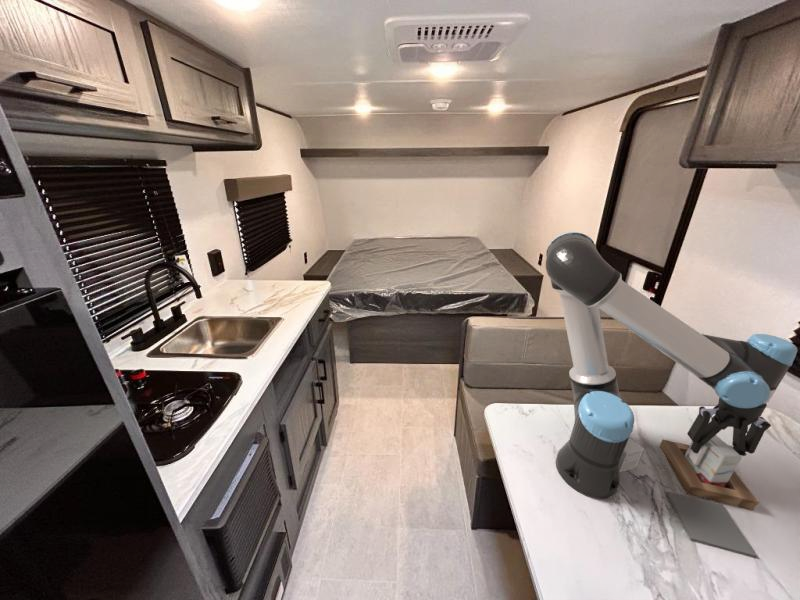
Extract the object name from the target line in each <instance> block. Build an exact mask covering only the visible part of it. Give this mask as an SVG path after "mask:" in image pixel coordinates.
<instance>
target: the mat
mask: <svg viewBox="0 0 800 600" xmlns="http://www.w3.org/2000/svg"><path fill="white" fill-rule="evenodd" d="M665 493H666V495H667V498H668V499H669V501H670V503H671V505H672V507H673V509H674V511H675V513H676V514H677V517H678V519H679V521H680V523H681V525H682V526H683V528H684V531H685V532H686V534H687V537H688V539H689V540H690V541H692V542H696V543H699V544H700V543H701V544H703V545H704V544H705V545H708V546H711V547H714V548H719V549H722V550H725V551H729V552H733V553H737V554H741V555H744V556H748V557H752V558H757V557H758V556H757V554H756V553H755V551H754V550H753V547H752V546H751V544H750V543H749V542H748V540H747V539H746V537H745V536H744V534H743V533H742V532H741V529H740V528H739V527H738V525H737V524H736V522H735V520H734V519H733V518H732V516H731V515H730V513H729V511H728V510H727V509H726V507H725V505H724V503H720V502H716V501H712V500H707V499H703V498H699V497H695V496H691V495H687V494H686V495H685V494H681V493H676V492H673V491H670V490H666V491H665Z"/></svg>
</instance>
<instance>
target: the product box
mask: <svg viewBox="0 0 800 600" xmlns="http://www.w3.org/2000/svg"><path fill="white" fill-rule="evenodd" d="M643 451H644V448H643V447H641V446H640V445H639V444H638V443H637V442H636V441H635V440H633V439H632V438H631V437H629V439H628V441H627V444H626V446H625V449H624V451H623V454H622V456H621V458H620V461H619V463H618V466H619V473H622V472H625V471H630V470H634V469H636V468H637V466H638V463H639V460H640V458H641V456H642V453H643Z"/></svg>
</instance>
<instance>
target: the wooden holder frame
mask: <svg viewBox="0 0 800 600" xmlns="http://www.w3.org/2000/svg"><path fill="white" fill-rule="evenodd" d="M659 444H660V445H659V449H660V451H661V453H662V454H663V456H664V457H665V460H666V461H667V463H668V464H669V467H670V468H671V469H672V471H673V474H674V475H675V477H676V479H677V480H678V482H679V483H680V486H681V487H682V489H683V491H684V493H685V494H686V496H690V497H694V498H698V499H702V500H706V501H711V502H715V503H719V504H723V505H724V504H725V505H729V506H733V507H737V508H740V509H741V508H742V509H745V510H750V511H754V510H755V509H756V508H757V506H758V505H759V503H760V502H759V500H758V499H757V498H756V497H755V495H754V494H753V492H751V490H750V489H749V488H748V486H747V485H746V484H745V482H744V481H743V480H742V479H741V477H740V476H739V475H738V473H737V472H736V471H735V470H734V472H733V474H732V476H731V477H730V479H729V481H728V483H727V484H726V486H725V488H724V487H720V486H715V485H711V484H707V483H702V482H701V481H700V480H699V478H698V476H697V475H696V473H695V472H694V470H693V469H692V467H691V466H690V464H689V463H688V461H687V459H686V458H685V454H686V452H687V450H688V448H689V446H690V444H686V443H680V442H676V441H672V440H668V439H662V440H661V442H660V443H659Z"/></svg>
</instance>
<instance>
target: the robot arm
mask: <svg viewBox="0 0 800 600" xmlns="http://www.w3.org/2000/svg"><path fill="white" fill-rule="evenodd" d="M545 257H546V258H545V270H546V274H547V275H548V278H549V279H550V284H551V288H552V290H554V291H555V292H557V293H559V298H560V303H561V307H562V314H563V318H564V324H565V330H566V332H567V333H566V335H567V339H568V340H567V341H568V344H569V349H570V355H571V360H572V365H573V367H571V368H570V370H569V371H568V372H569V373H568V374H569V380H570V386H571V390H572V396H573V407H574V408H573V410H574V422H573V426H572V430H571V433H570V436H569V440H568V441H567V442H565V444H564V445H562V447H561V448H560V449H559V450H558V452H557V454H556V458H555V467H556V470H557V471H558V472H557V473H558V474H559V476H560V477H561V478H562V479H563V481H564V482H565V483H566V484H568V485H569V486H570V487H571V488H572V489H574V490H575V491H576V492H579V493H581V494H583V495H585V496H587V497H591V498H593V499H599V500H600V499H601V500H602V499H609V498H611V497H614V496H615V495H616V494H617V492H618V489H619V487H620V483H621V482H620V481H621V476H620V472H619V466H618V463H619V461H620V458H621V456H622V454H623V451H624V449H625V446H626V444H627V441H628V439H629V438H630V436H631V435H632V433H633V430H634V427H635V425H634V424H635V415H634V412H633V410H632V408H631V407H630V405H629V404H628V403H626V402H623V401H624V400H623V399H622V398H621V395H620V391H619V390H620V389H619V383H618V377H617V372H616V370H615V368H614V367H612V366H611V365H609V361H608V356H607V350H606V343H605V338H604V331H603V325H602V319H601V314H600V313H601V312H600V311H602V312H603V313H605V314H607V315H608V316H609V317H610V318H612V319H613V320H615V321H616V322H617V323H619V324H621V325H622V326H623V327H625V328H626V329H628V330H630V331H631V332H632V333H633V334H635V335H637V336H638V337H640V338H641V339H642V340H644V341H645V342H646V343H648V344H650V345H651V346H652V347H654V348H655V349H657V350H658V351H660V352H661V353H662V354H663V355H665V356H667V357H668V358H670V359H671V360H673V361H674V362H675V363H677V364H678V365H680V366H681V367H682V368H683V369H684V370H685V369H686V371H688V372H689V373H691V374H693V375H694V376H695V377H697V378H698V379H699V380H700V381H702V382H704V384H706V385H708V386H709V387H710V388H712V389H713V390H714V391H715V394H716V395H717V396H718V397H719V398H718V404H716V405H715V406H713V408H706V407H705V406H702V405H701V406H700V407H698V414H697V417H696V418H695V419H694V421H693V423H692V425H691V426H690V428H689V430H688V431H687V433H686V435H688V437H689V439H690V440H691V442H692V441H693V444H692V446H691V449H692V452H691V454H690V456H689V457H690V459H691V460H692V462H693V463H694V465H698V464H699V462H700V460H701V458H702V456H703V454H704V453H705V451H706V449H707V446H706V445H705V444H706V443H707V442H708V441H709V440H710V439H712V438H713V437H714V436H715V435H718V433H720V432H721V431H722V430H723V431H725V430H726V429H727V428H732V429H733V430H732V443H731V444H732V445H731V444H727V445H728V446H730V447H731V448H732V449H733V450H734V451H735V452H737V453H738V454H739V455H740V456H741V457H745V456H747V453H748V454H750V455H751V454H754V453H755V451H756V449H757V447H758V445H759V444H760V442H761V440H762V437H763V436H764V434H765V432H766V431H767V430H768V429H770V428H771V426H772V424H770V423H771V422H768V421H767V419H766V418H764V417H763V413H764V411H765V410H766V408H767V406H768V403H769V402H770V401H771V399H772V397H773V396H774V394H775V393H776V390H777V389H778V387H779V385H780V384H781V382H782V380H784V377H785V375H786V374H787V372H788V371H789V369H790V368H791V367H792V365H793V362H794V360H795V358H796V356H797V353H798V347H797V346H796V345H795V344H793V343H792V342H791V341H789V340H787V339H785V338H782V337H778V336H776V335H771V334H767V333H766V334H765V333H754V334H751V335H750V337H749V338H747V341H745V340H736V339H731V338H724V337H719V336H714V335H708V334H704V333H701V332H699V331H698V330H696V329H695V328H693V327H691V326H690V325H689V324H687V323H685V322H684V320H683V321H682V319H680V318H678V317H677V316H676V315H674V314H672V313H671V312H669V311H668V310H667V309H665V308H664V307H662V306H661V305H659V304H657V303H656V302H655V301H653V300H652V299H650V298H649V297H647V296H646V295H644V294H643V293H641V292H640V291H638V290H637V289H635V288H634V287H632V286H631V285H629V284H628V283H626V282H625V281H624V280H623V279H622V277H623V276H622V273H621V272H619V271H618V270H617V269H615V268H613V267H612V265H610V264H609V263H608V262H607V261H606V260H605V259H604V258H603V257H602V255H601V254H600V253H599V251H598V249H597V247H596V244H595V241H594V240H593V238H591V237H590V236H589V235H587V234H584V233H582V232H577V231H570V232H569V231H568V232H564V233H561V234H559V235H558V236H556V237H555V238H554V239H553V240H552V241H551V242H549V244H548V246H547V248H546V253H545Z"/></svg>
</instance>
